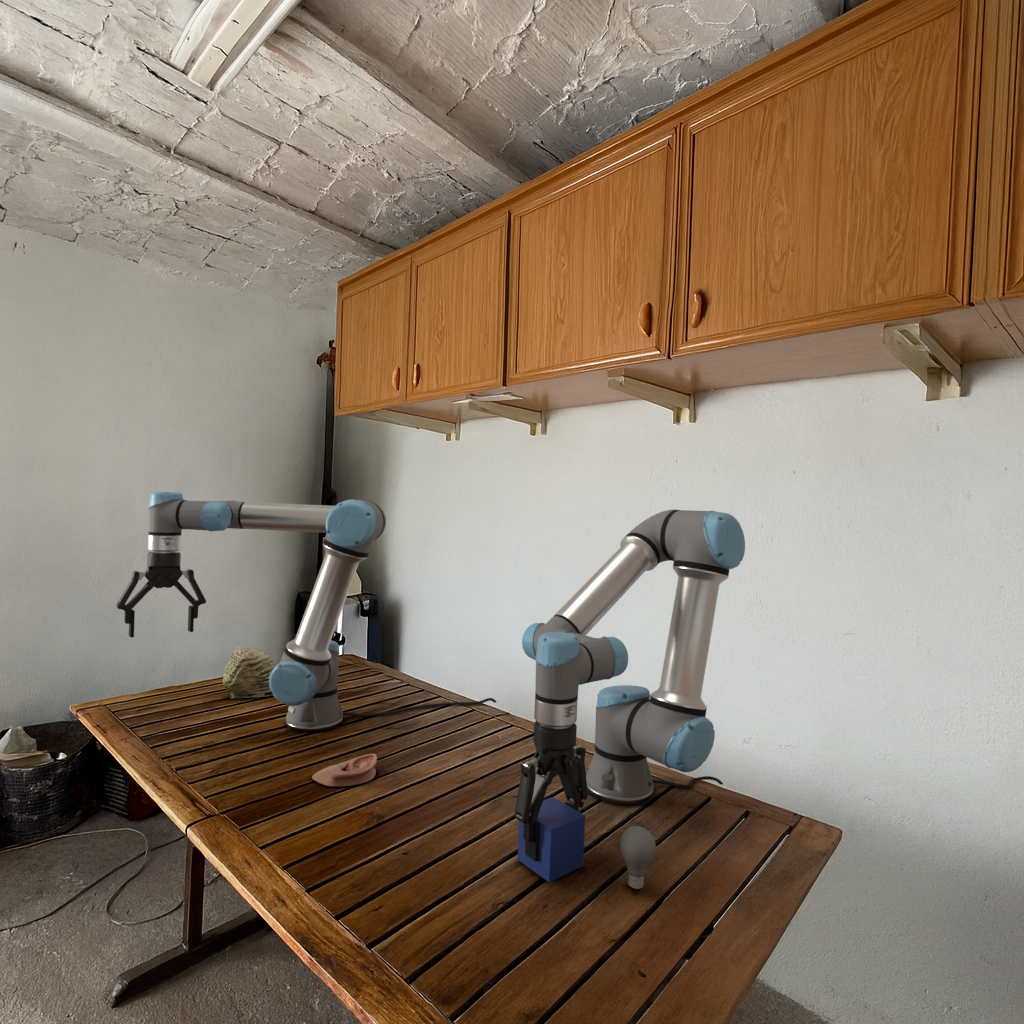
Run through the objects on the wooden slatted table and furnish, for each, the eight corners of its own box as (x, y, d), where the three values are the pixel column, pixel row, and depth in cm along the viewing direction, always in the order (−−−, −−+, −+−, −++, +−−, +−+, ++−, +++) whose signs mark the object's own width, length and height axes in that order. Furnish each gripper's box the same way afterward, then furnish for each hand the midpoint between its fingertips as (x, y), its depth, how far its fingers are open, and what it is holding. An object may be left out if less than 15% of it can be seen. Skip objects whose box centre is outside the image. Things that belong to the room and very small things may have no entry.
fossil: (218, 695, 195) (220, 647, 195) (278, 685, 208) (279, 640, 207) (228, 703, 189) (230, 653, 188) (289, 692, 201) (290, 645, 201)
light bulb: (613, 876, 109) (616, 819, 109) (647, 876, 110) (650, 819, 110) (622, 898, 103) (625, 837, 103) (658, 897, 104) (661, 837, 104)
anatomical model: (305, 765, 139) (330, 745, 150) (304, 783, 139) (330, 762, 151) (361, 773, 137) (383, 752, 148) (360, 791, 137) (382, 769, 148)
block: (517, 859, 113) (519, 809, 113) (551, 844, 118) (553, 796, 118) (549, 882, 106) (551, 829, 106) (583, 865, 112) (585, 815, 111)
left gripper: (109, 553, 152) (106, 641, 153) (220, 552, 168) (217, 631, 168) (105, 551, 158) (102, 635, 158) (212, 549, 174) (209, 626, 174)
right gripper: (523, 741, 102) (518, 880, 103) (611, 716, 115) (606, 839, 116) (495, 727, 108) (490, 859, 108) (582, 705, 121) (577, 822, 122)
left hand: (161, 633), depth 163 cm, fingers open, 13 cm apart
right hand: (550, 848), depth 112 cm, fingers closed on block, 8 cm apart
